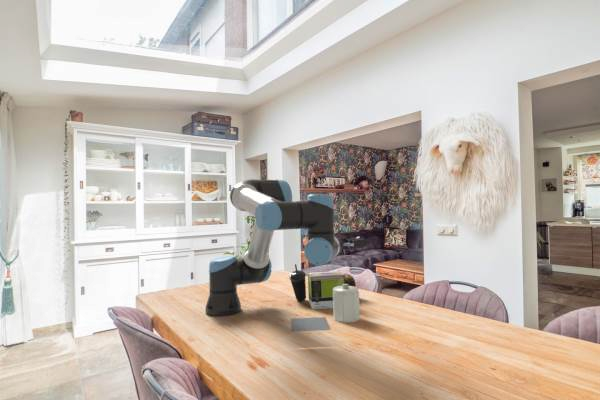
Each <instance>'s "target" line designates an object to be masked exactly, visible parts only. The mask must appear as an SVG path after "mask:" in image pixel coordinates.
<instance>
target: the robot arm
mask: <svg viewBox="0 0 600 400" xmlns="http://www.w3.org/2000/svg"><path fill="white" fill-rule="evenodd" d="M229 200H230V203H231V204H232V206H234V208H236V209H237V210H238V211H241V212H247V213H249V214H250V215H252V216H253V217H254V220H255V221H254V225H253V229H252V232H251V237H250V241H249V245H248V246H249V247H248V250H247V251H245V252H244V254H243V256H242V257H239V258H238V257H237V255H232V254H231V255H224V256H219V257H215V258H213V259H212V260H211V261H210V262H209V264H208V265H209V266H208V267H209V268H208V269H209V270H208V273H209V274H208V276H209V277H208V278H209V281H208V282H209V294H208V295H209V296H208V298H207V301H206V304H205V314H206V315H208V316H215V317H224V316H230V315H234V314H237V313H239V312H240V311H242V303H241V301H240V300H241V299H240V298H239V295H238V290H237V289H238V287H237V286H240V285H248V284H249V285H251V284H260V283H264V282H267V281H268V280H269V279H270V277H271V273H272V268H273V267H272V260H271V259H270V257H269V256H268V253H269V250H270V246H271V242H272V240H273V236H274V232H275V231H281V230H299V229H300V230H302V229H306V230H307V242H306V244H305V246H304V251H303V252H304V256H305V259H306V261H308V262H309V264H311V265H313V266H318V267H319V266H323V265H326V264H328V263H330V262H331V261H332V260H333V259H334V258H336V257H337V256H338V255H340V254H341V252H342V250H346V249H347V248H348V249H350V250H352V249H356V248H357V249H361V248H362V247H366V246H367V239H366V238H365V237H363V238H361V237H360V236H357V237H355V238H348V239H347V238H345V237H343V238H340V237H339V236H338V235H337V234H336V233H335V205H334V204H335V203H334V197H333V196H332V195H331V194H327V193H326V194H324V193H320V194H318V193H316V194H307V196H306V200H300V201H299V200H297V201H293V193H292V188H291V186H290V184H289V182H287V181H286V180H282V179H252V178H251V179H245V180H242V181H239V182H237V183H236V184H235V185H234V186H233V187H232V189H231V190H230V194H229Z"/></svg>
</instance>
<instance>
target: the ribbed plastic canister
mask: <svg viewBox="0 0 600 400" xmlns="http://www.w3.org/2000/svg"><path fill="white" fill-rule="evenodd" d="M332 310H333V311H332V315H333V317H332V318H333V320H334V321H336V322H340V323H355V322H358V321H359V320H361V319H360V318H361V316H360V315H361V314H360V291H359V288H358V287H357V286H356V287H354V286H349V284H343V286H337V287H334V288H333V308H332Z"/></svg>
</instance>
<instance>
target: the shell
mask: <svg viewBox="0 0 600 400" xmlns="http://www.w3.org/2000/svg"><path fill="white" fill-rule="evenodd" d="M342 274H343V275H344V284H349V286H354V287H357V286H356V281H355V278H354V276H352V275H351V274H349V273H348V274H347V273H342Z"/></svg>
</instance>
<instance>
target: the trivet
mask: <svg viewBox="0 0 600 400" xmlns="http://www.w3.org/2000/svg"><path fill="white" fill-rule="evenodd" d="M290 325H291V326H290V327H291V332H309V331H312V332H313V331H331V330H332V329H331V327H330V325H329V322H328V320H327V317H325V316H324V317H323V316H322V317H321V316H320V317H295V318H291V317H290Z"/></svg>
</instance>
